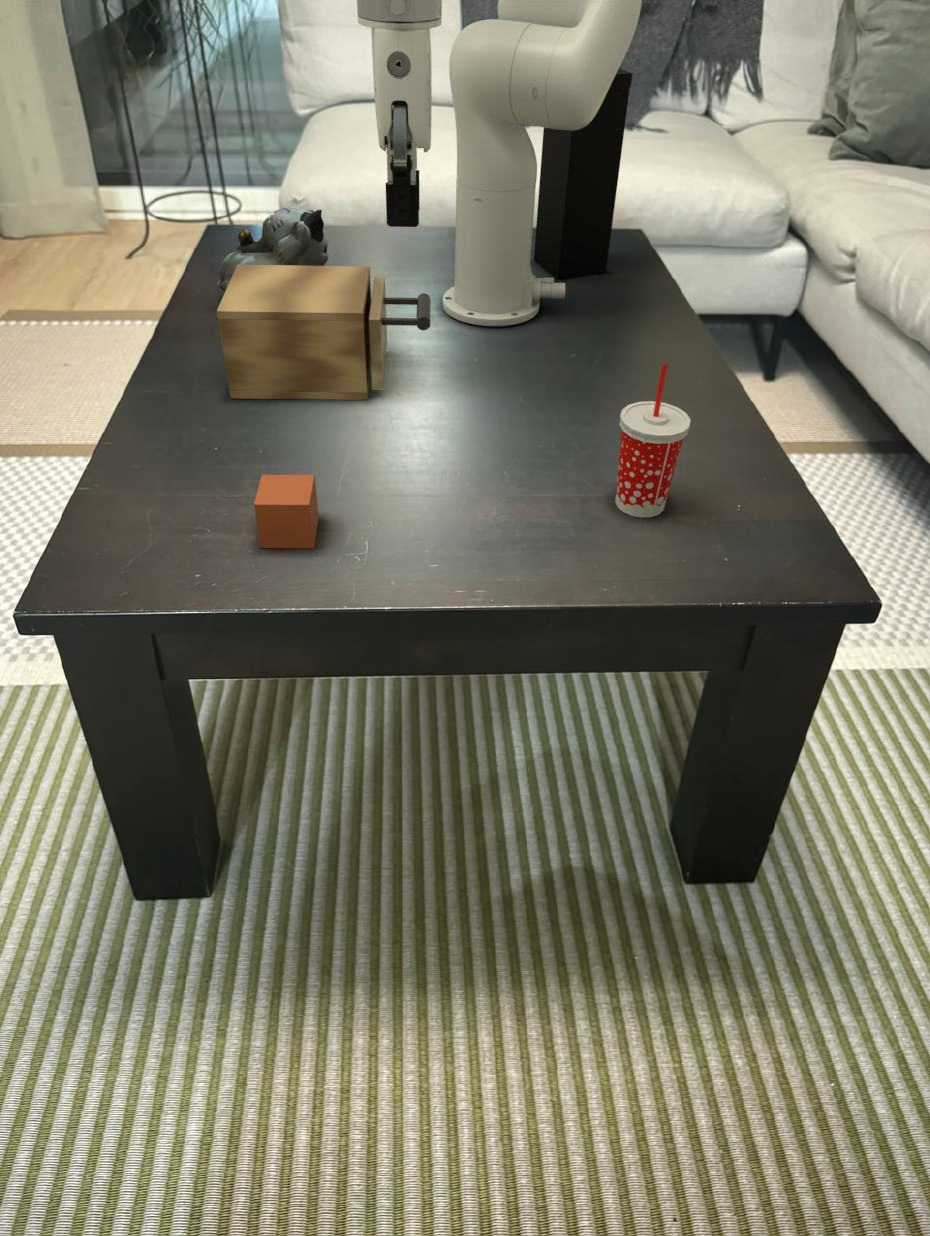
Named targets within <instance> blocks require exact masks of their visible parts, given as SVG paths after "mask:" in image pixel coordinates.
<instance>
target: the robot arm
mask: <svg viewBox="0 0 930 1236" xmlns="http://www.w3.org/2000/svg"><path fill="white" fill-rule="evenodd" d="M642 4H643V3H642V0H498V2H497V16H498V18H497V19H496V18H491V19H481V20H478V21H475V22H472V23H470V24H468V25H466V26H465V27H464V28H463V29H462V30H461V31H460V32H459V33H458V34H457V36H456V37H455V40H454V41H453V44H452V47H451V50H450V54H449V63H448V66H449V67H448V69H449V70H448V71H449V74H448V75H449V76H448V77H449V82H450V83H449V85H450V91H451V92H450V93H451V98H452V99H451V100H452V105H453V112H454V120H455V134H456V178H455V179H456V182H455V183H456V184H455V186H456V187H455V190H456V191H455V240H454V241H455V242H454V244H455V245H454V251H455V252H454V285H453V286H451V287H450V288H449V289H447V290H446V291H445V292H444V293H443V296H442V297H441V299H442V308H443V309H442V310H443V311H444V312H445V313H446V314H447V315H448V316H450V318H453V319H455V320H457V321H460V322H462V323H465V324H469V325H474V326H482V327H508V326H514V325H518V324H522V323H525V322H527V321H529V320H532V319H533V318H534V317H535V316H537V314H538V313H539V311H540V300H541V298H542V299H543V298H547V299H551V300H552V299H556V300H557V299H558V300H559V299H563V300H564V299H565V297H566V282H554V281H555V277H537V276H536V275H534V274H533V271H532V267H531V258H532V246H533V245H532V244H533V243H532V242H533V232H534V231H533V229H534V228H533V227H534V217H535V202H536V187H537V176H538V161H537V155H536V151H535V148H534V145H533V142H532V140H531V137H530V135H529V133H528V130H527V129H526V126H531V127H539V128H543V129H544V128H550V129H558V130H569V131H573V130H579V129H582V128H584V127H585V126H587V125H588V124H589V123H590V122H591V121H592V120H593V118H594V117H595V115H596V114H597V112H598V110H599V108H600V106H601V104H602V102H603V100H604V98H605V96H606V94H607V92H608V90H609V88H610V86H611V83H612V81H613V79H614V77H615V75H616V73H617V71H618V69H619V68H620V67H621V64H622V62H623V61H624V59H625V56H626V54H627V52H628V50H629V48H630V45H631V43H632V40H633V39H634V35H635V33H636V30H637V26H638V23H639V19H640V16H641V15H640V14H641V10H642ZM442 5H443V1H442V0H356V9H357V10H356V11H357V23H358V24H359V25H360V26H363V27H366V28H370V31H371V52H372V53H371V54H372V73H373V74H372V75H373V91H374V92H373V93H374V107H375V119H376V128H377V129H376V130H377V137H378V146H379V148H380V149H381V150H382V151H383V152H386V165H387V166H386V172H387V173H386V175H387V176H386V177H387V181H386V182H385V209H386V224H387V226H388V227H390V228H392V227H393V228H397V227H398V228H416V227H418V226H419V224H420V169H418V149H423V153H428V152H429V151H430V150H431V147H432V91H433V90H432V73H433V72H432V71H433V70H432V43H431V29H435V28H437V27H440V26H441V25H443V24H442V21H443V19H442V18H443V17H442V16H443V15H442V11H443V10H442V9H443V8H442V7H443V6H442Z"/></svg>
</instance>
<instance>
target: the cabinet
mask: <svg viewBox="0 0 930 1236" xmlns="http://www.w3.org/2000/svg"><path fill="white" fill-rule="evenodd" d="M371 287H372V285H371V266H353V265H351V266H350V265H324V266H297V265H237V267H236V269H235V271H234V273H233V276H232V278H231V280H230V282H229V285H228V287H227V289H226V291H224V294H223V296H222V298H221V299H220V302H219V305H218V307H217V310H216V315H217V322H218V329H219V335H220V341H221V348H222V354H223V361H224V366H225V372H226V373H225V374H226V379H227V384H228V391H229V398H230V399H234V400H235V399H236V400H237V399H240V400H241V399H242V400H245V399H247V400H248V399H249V400H251V399H253V400H331V401H332V400H333V401H338V400H339V401H343V400H344V401H367V400H368V398H369V397H368V395H369V390H370V389H369V388H370V381H371V380H370V379H371V359H370V338H369V314H370V306H371V299H372V288H371Z"/></svg>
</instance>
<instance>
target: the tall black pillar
mask: <svg viewBox="0 0 930 1236" xmlns="http://www.w3.org/2000/svg"><path fill="white" fill-rule="evenodd" d="M632 82H633V72H630V71H628V70H625V69H623V68H620V67H619V69H618V71H617V73H616V75H615V77H614V79H613V81H612V83H611V86H610V88H609V90H608V92H607V94H606V96H605V98H604V100H603V102H602V104H601V106H600V108H599V110H598V112H597V114H596V115H595V117H594V118H593V120H592V121H591V122H590V123H589V124H588V125H587V126H585V127H584V128H582V129H579V130H573V131H569V130H558V129H550V128H544V127H543V129H542V130H543V131H542V132H543V133H542V145H541V157H540V158H541V160H540V173H539V183H538V184H539V186H538V198H537V209H536V210H537V212H536V225H535V239H534V253H533V261H535V262H536V263H537V264H538V265H540V266H541V267H542V268H543V269H545V270H546V271H548V272H549V273H550V274H551V275H553V276H554V278H557V279H565V278H571V277H580V276H584V275H585V276H586V275H593V274H599V273H606V272H607V269H608V260H609V254H610V246H611V237H612V230H613V223H614V213H615V208H616V207H615V206H616V198H617V192H618V191H617V190H618V182H619V175H620V167H621V160H622V151H623V145H624V144H623V142H624V136H625V127H626V121H627V112H628V103H629V96H630V89H631V86H632Z"/></svg>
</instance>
